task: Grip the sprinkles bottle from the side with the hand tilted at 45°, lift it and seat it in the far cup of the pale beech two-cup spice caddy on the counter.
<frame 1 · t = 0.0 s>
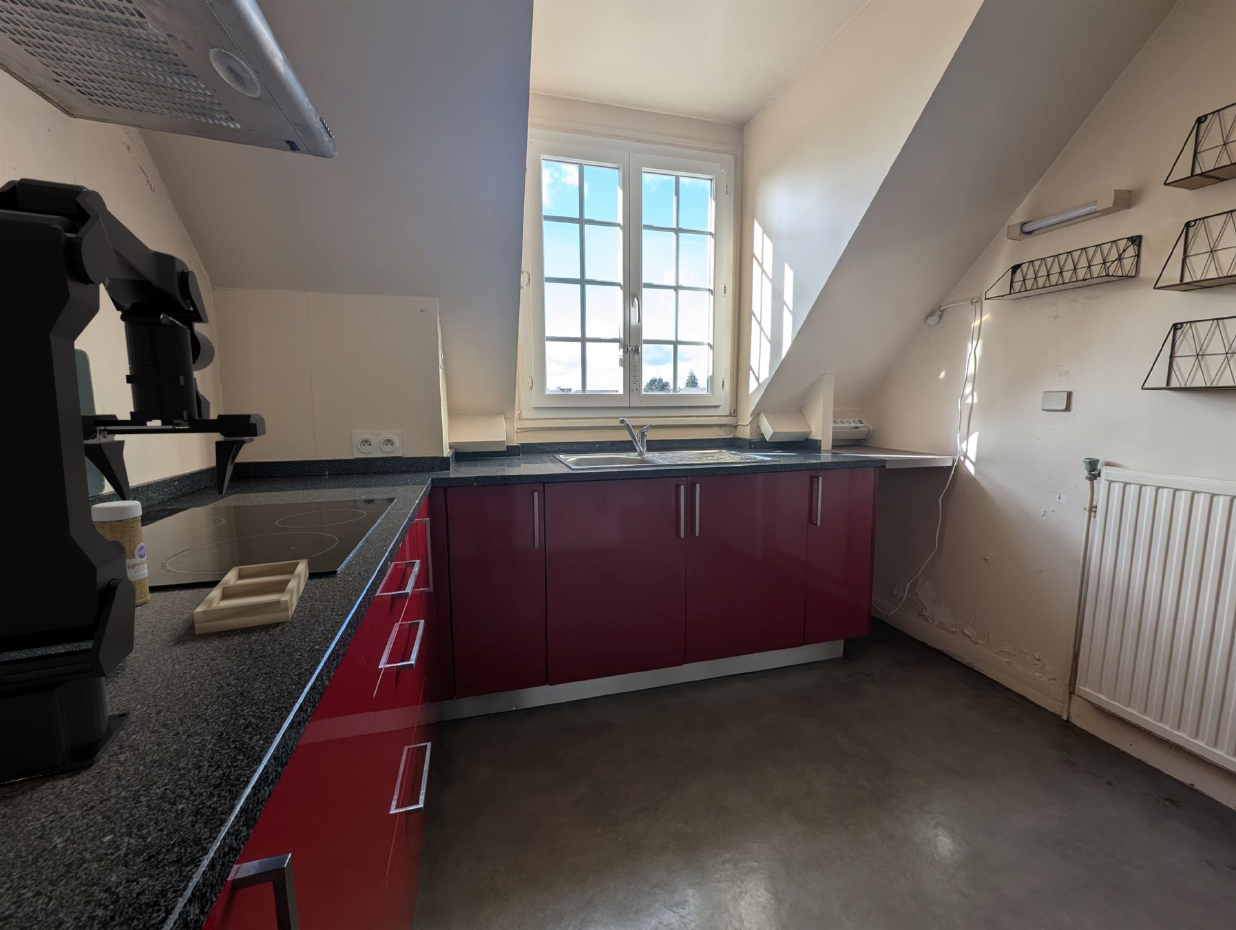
hand: (175, 497, 62), 15 cm above the countertop, tool pointing down, fingers open, 9 cm apart
caddy: (260, 601, 68), on the countertop
sprinkles bottle: (128, 605, 67), on the countertop
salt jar: (116, 588, 73), on the countertop
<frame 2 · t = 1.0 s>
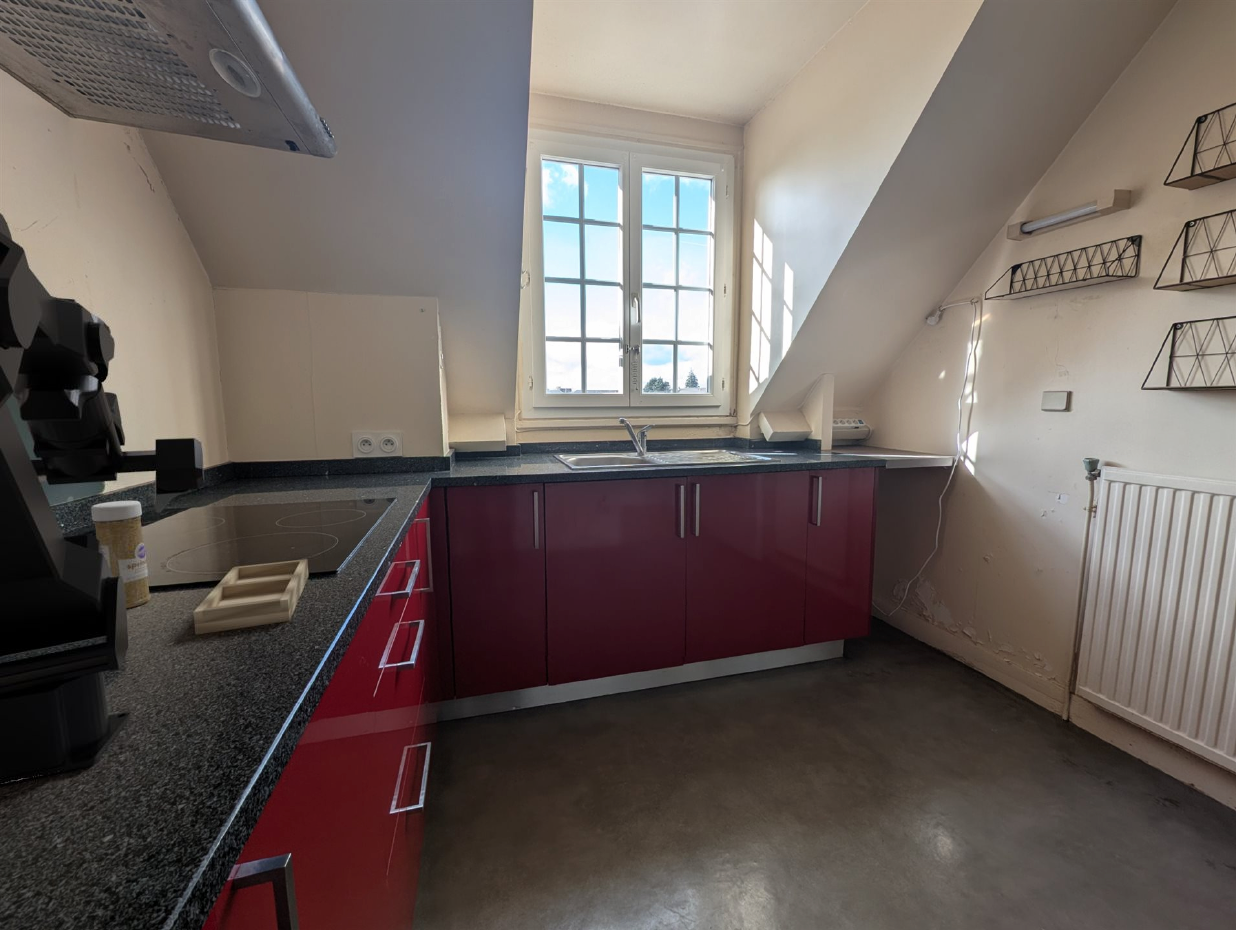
hand: (105, 514, 59), 13 cm above the countertop, tool tilted 45°, fingers open, 9 cm apart
nothing on the countertop moved.
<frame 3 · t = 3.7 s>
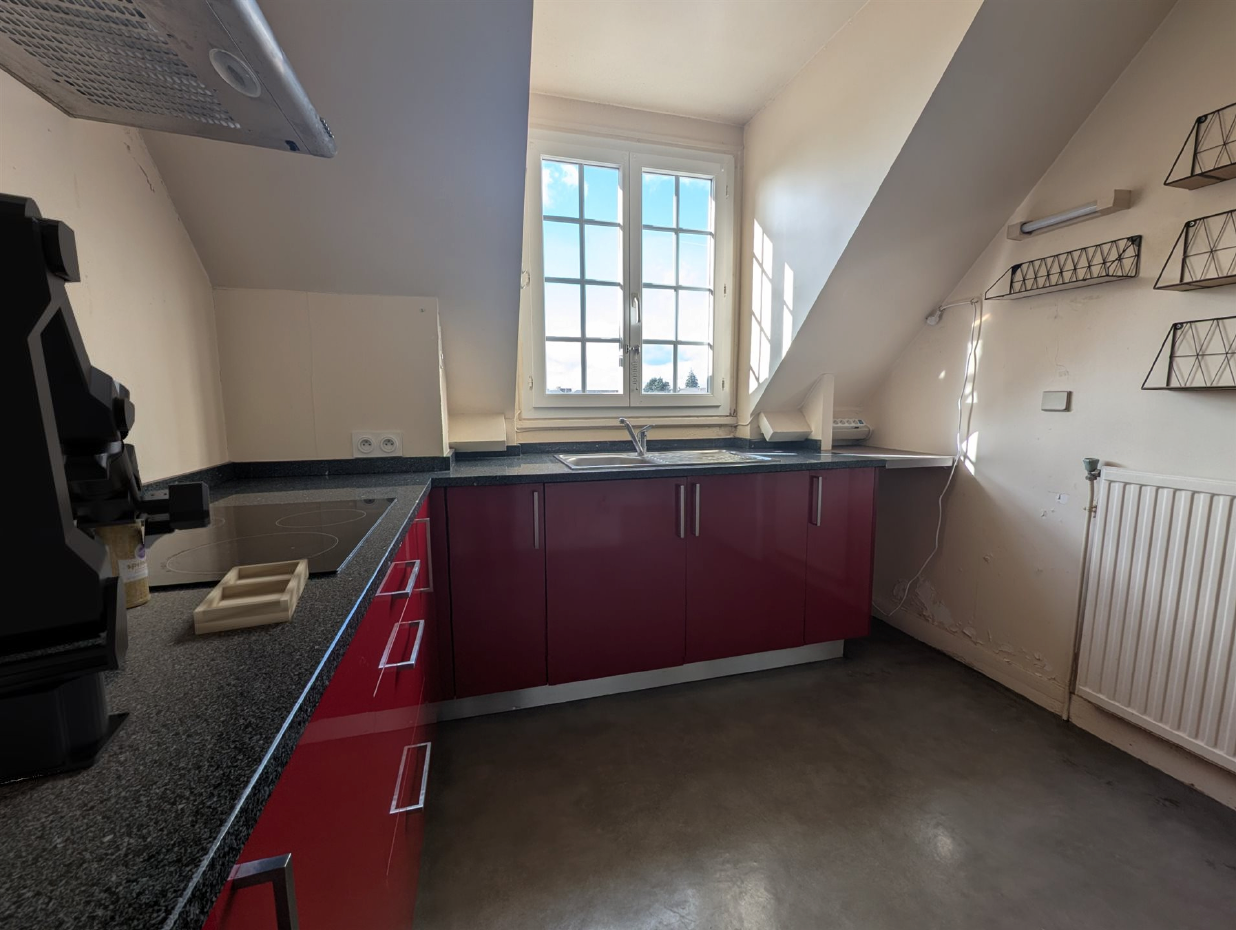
hand: (123, 548, 67), 7 cm above the countertop, tool tilted 45°, fingers closed on sprinkles bottle, 4 cm apart
sprinkles bottle: (128, 605, 67), on the countertop, touching gripper
everything else where it was.
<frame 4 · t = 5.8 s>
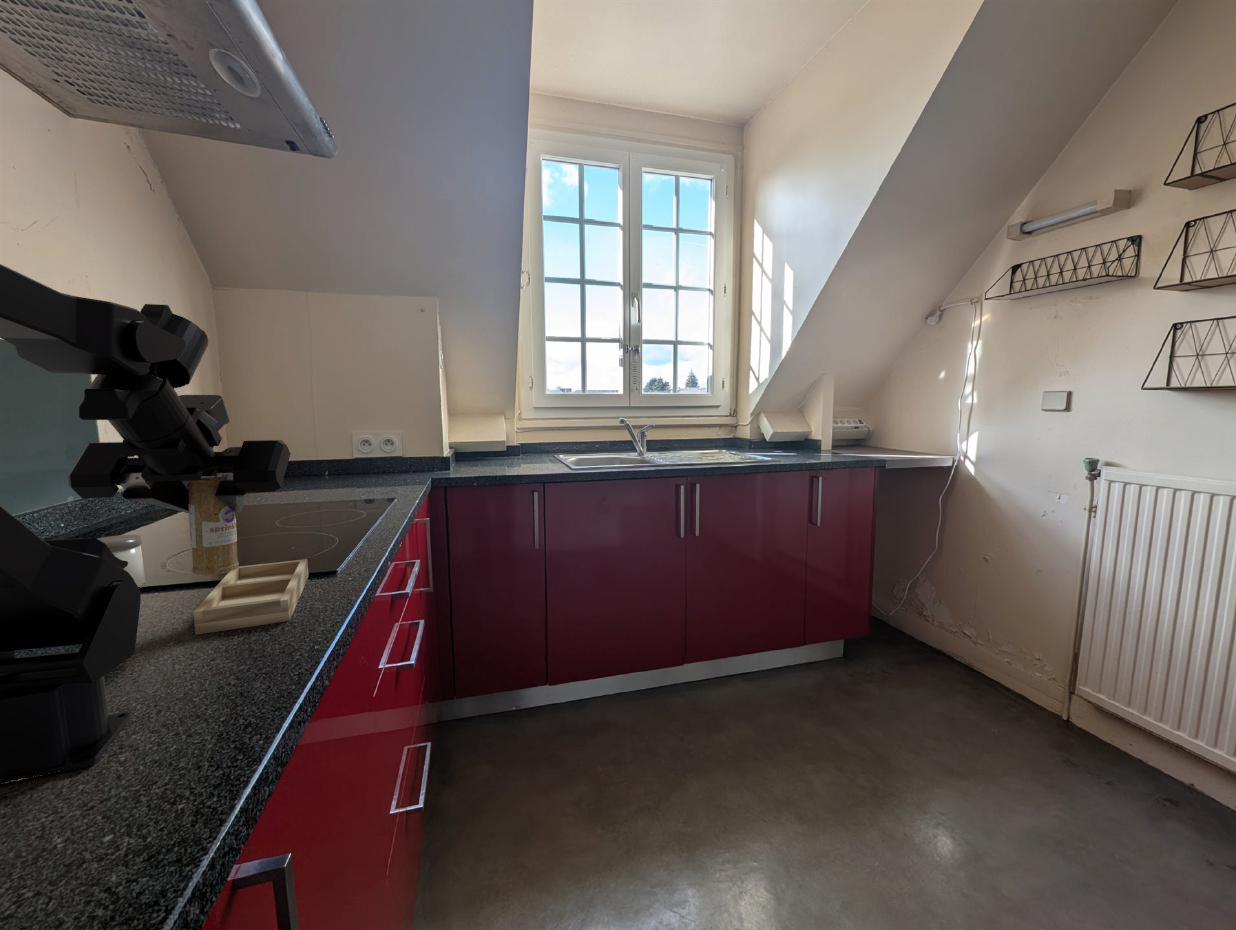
hand: (218, 510, 63), 13 cm above the countertop, tool tilted 45°, fingers closed on sprinkles bottle, 4 cm apart
sprinkles bottle: (216, 572, 62), point 6 cm above the countertop, touching gripper
everything else where it was.
when the fingers open (9 cm above the countertop, at t = 8.3 s): sprinkles bottle stays where it is, resting on caddy.
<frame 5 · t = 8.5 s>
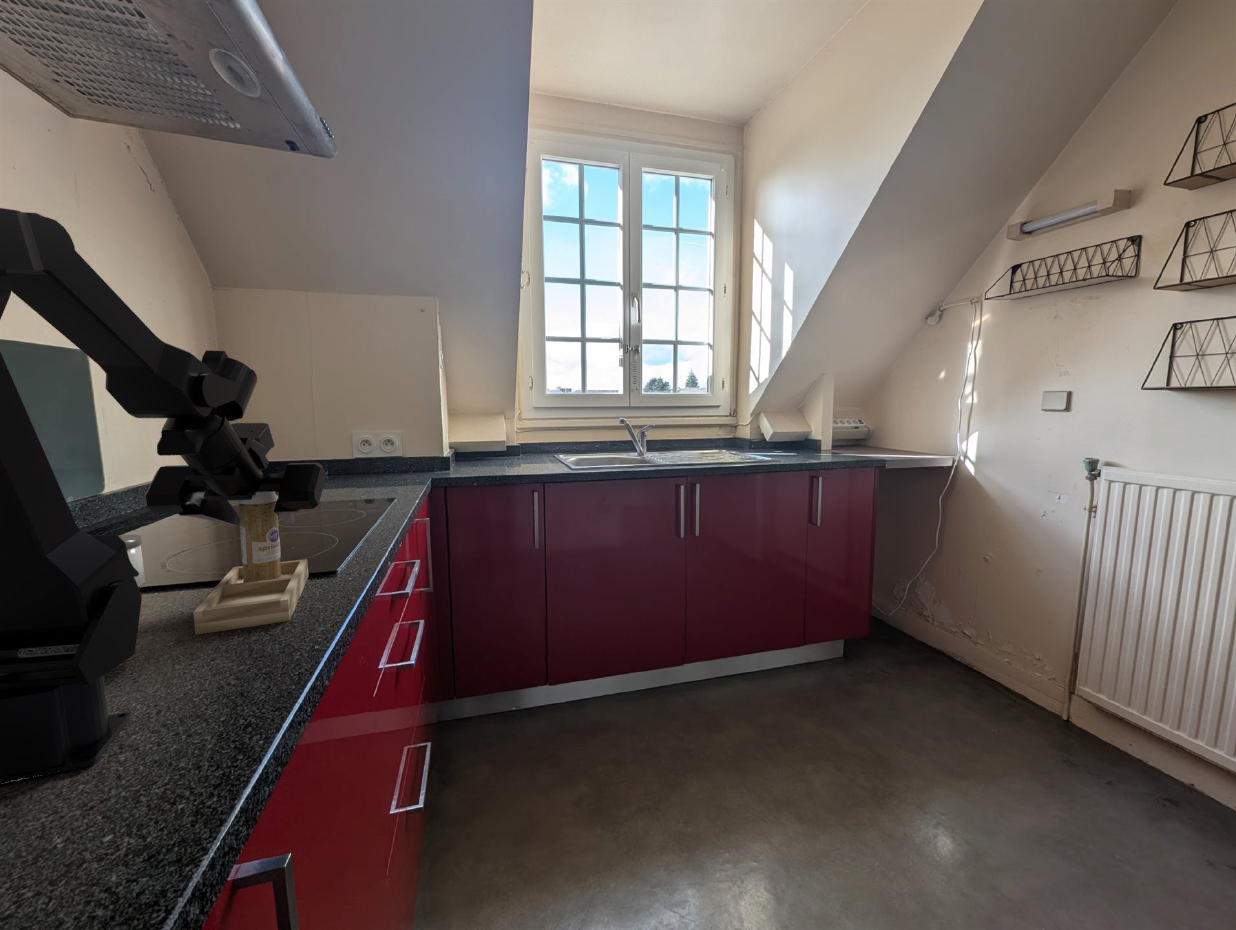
hand: (265, 521, 72), 10 cm above the countertop, tool tilted 45°, fingers open, 7 cm apart
sprinkles bottle: (263, 584, 71), point 1 cm above the countertop, touching caddy
everything else where it was.
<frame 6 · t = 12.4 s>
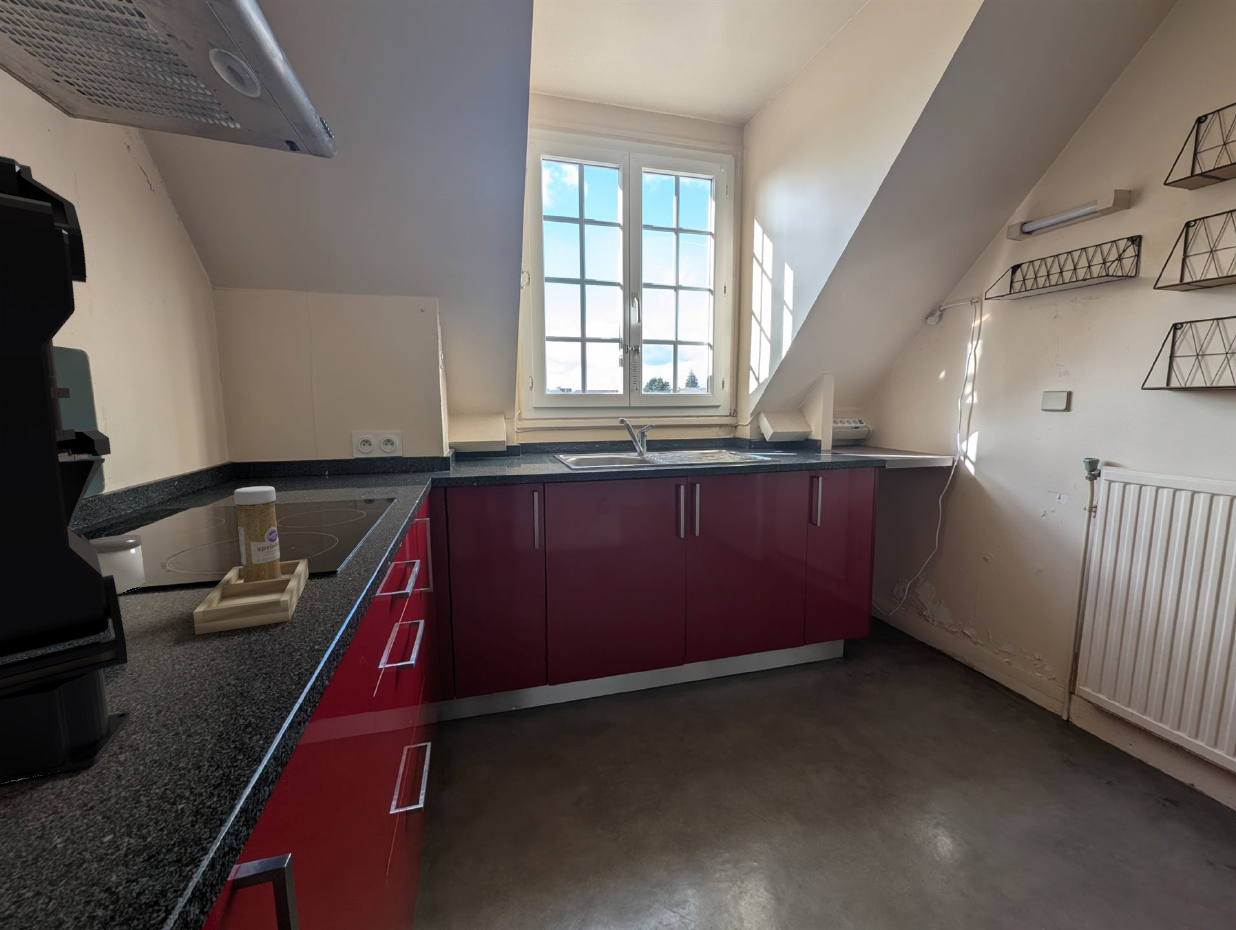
hand: (35, 538, 50), 13 cm above the countertop, tool pointing down, fingers open, 9 cm apart
nothing on the countertop moved.
at the end: sprinkles bottle 0.3 cm from the target spot, point 1.0 cm above the countertop; sprinkles bottle tilted 0°; the gripper is holding nothing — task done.
